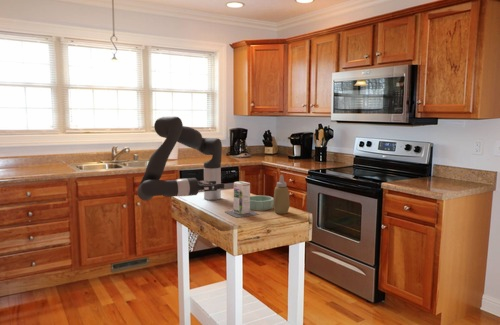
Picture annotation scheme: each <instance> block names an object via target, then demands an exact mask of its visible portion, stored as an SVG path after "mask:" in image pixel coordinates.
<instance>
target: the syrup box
mask: <svg viewBox="0 0 500 325" xmlns="http://www.w3.org/2000/svg"><path fill="white" fill-rule="evenodd" d="M250 196H251V183H250V182H247V181H234V182H233V212H234V213H237V214H240V215H241V214H246V213H250Z"/></svg>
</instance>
